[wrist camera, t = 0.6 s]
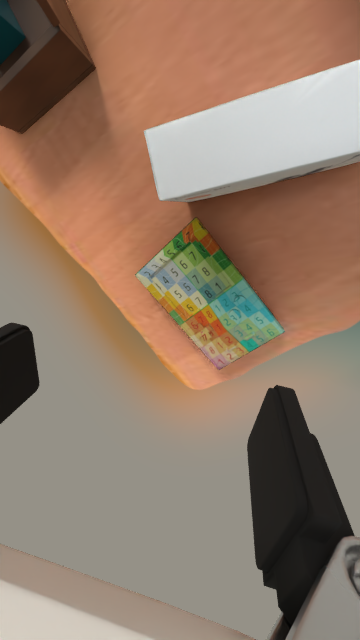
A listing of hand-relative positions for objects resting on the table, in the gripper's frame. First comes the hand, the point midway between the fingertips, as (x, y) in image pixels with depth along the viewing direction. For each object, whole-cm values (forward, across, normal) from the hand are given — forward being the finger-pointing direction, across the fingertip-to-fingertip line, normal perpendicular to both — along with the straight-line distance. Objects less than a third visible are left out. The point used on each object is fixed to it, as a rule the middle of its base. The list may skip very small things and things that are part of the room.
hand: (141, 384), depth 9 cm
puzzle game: (+30, -2, +6) cm, 30 cm away
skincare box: (+30, -5, -12) cm, 32 cm away
